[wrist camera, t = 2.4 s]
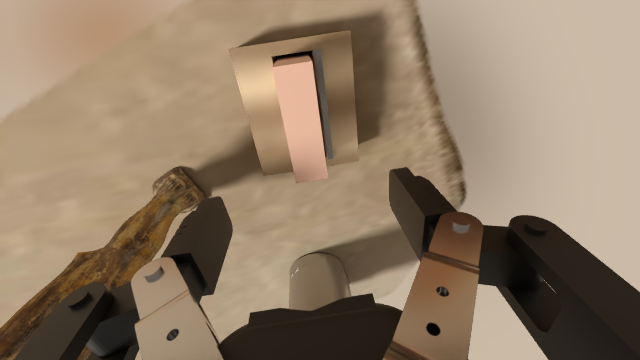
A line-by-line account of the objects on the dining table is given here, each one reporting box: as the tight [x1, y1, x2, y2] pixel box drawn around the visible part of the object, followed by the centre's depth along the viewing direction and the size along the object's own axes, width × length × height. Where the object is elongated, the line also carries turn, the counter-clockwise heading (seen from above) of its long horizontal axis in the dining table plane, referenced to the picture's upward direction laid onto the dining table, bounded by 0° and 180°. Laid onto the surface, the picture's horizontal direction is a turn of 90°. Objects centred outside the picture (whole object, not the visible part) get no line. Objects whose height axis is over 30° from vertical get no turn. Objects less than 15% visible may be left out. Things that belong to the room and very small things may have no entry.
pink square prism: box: [272, 53, 328, 183], centre depth 25 cm, size 10×3×10 cm, turn 8°
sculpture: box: [0, 167, 205, 360], centre depth 21 cm, size 7×6×30 cm
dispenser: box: [228, 30, 359, 176], centre depth 27 cm, size 13×11×5 cm
